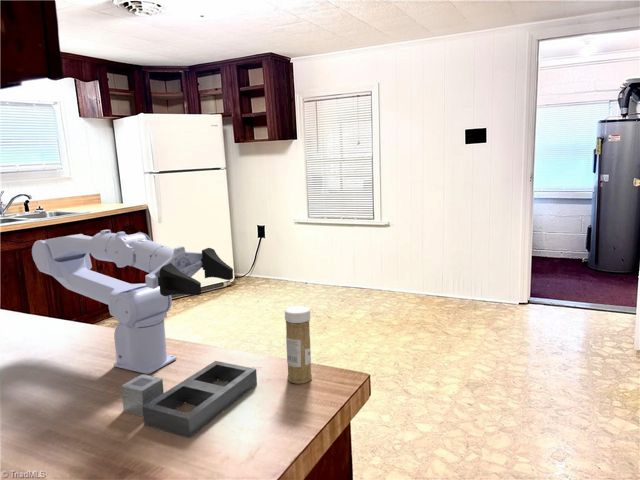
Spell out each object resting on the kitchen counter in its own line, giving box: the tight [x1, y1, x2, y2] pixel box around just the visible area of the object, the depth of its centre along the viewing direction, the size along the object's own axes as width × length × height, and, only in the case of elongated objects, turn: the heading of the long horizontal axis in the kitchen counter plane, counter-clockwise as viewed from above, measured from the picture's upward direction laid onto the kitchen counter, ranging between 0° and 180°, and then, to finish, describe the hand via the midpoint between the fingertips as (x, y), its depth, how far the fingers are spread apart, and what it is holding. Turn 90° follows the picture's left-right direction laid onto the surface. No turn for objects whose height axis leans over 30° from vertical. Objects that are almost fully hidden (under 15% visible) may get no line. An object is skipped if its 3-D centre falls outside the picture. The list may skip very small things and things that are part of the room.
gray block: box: [120, 373, 165, 417], centre depth 79 cm, size 4×4×5 cm
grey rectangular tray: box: [142, 360, 258, 439], centre depth 79 cm, size 9×18×3 cm, turn 155°
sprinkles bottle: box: [284, 305, 313, 385], centre depth 87 cm, size 5×5×13 cm
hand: (216, 281), depth 82 cm, fingers open, 7 cm apart
